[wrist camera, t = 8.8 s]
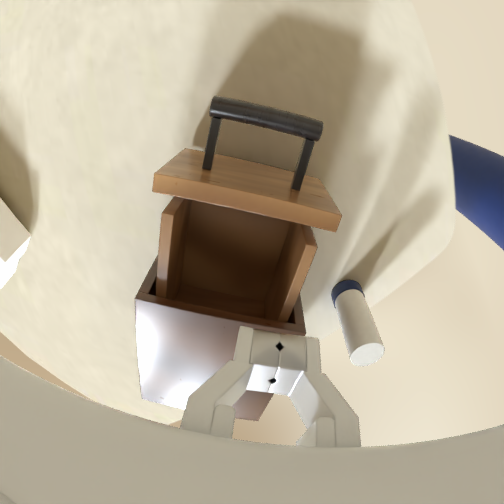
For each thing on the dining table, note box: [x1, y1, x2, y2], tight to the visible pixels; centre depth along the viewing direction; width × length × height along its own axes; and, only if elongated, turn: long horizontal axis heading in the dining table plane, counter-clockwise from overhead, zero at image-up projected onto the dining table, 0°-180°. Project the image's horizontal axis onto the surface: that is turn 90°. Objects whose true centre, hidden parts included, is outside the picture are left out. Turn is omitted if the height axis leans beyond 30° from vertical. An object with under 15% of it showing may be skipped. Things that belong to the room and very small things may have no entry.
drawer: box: [152, 96, 342, 323], centre depth 22 cm, size 18×11×8 cm, turn 167°
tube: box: [331, 280, 385, 366], centre depth 27 cm, size 3×3×9 cm
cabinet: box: [135, 256, 306, 421], centre depth 28 cm, size 15×13×10 cm
